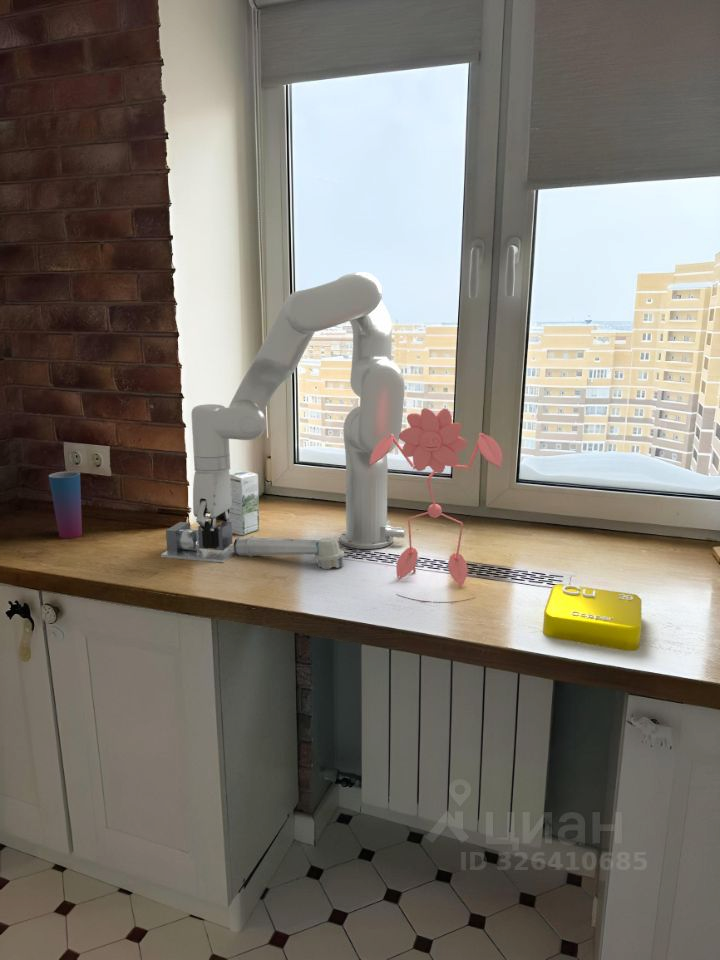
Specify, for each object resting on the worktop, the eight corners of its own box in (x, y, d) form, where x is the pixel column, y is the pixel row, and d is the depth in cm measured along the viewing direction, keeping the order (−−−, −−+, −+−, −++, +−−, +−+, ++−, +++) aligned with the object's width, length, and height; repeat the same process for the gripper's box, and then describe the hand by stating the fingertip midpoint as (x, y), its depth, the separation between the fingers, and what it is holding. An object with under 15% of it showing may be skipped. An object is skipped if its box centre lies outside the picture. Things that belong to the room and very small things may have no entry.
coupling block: (232, 543, 151) (231, 520, 150) (222, 550, 146) (221, 527, 145) (209, 541, 152) (208, 519, 151) (199, 548, 147) (197, 525, 146)
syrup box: (243, 526, 170) (240, 469, 166) (260, 530, 166) (258, 473, 163) (226, 532, 165) (223, 474, 162) (243, 536, 162) (241, 477, 158)
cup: (91, 533, 164) (86, 473, 160) (66, 541, 158) (60, 479, 154) (74, 529, 167) (68, 470, 164) (49, 536, 162) (42, 475, 158)
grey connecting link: (242, 533, 152) (344, 531, 143) (246, 562, 153) (349, 561, 144) (230, 541, 147) (335, 538, 138) (235, 570, 148) (340, 569, 139)
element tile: (540, 638, 111) (542, 611, 110) (551, 604, 125) (553, 579, 124) (639, 655, 106) (642, 627, 105) (639, 617, 119) (641, 591, 118)
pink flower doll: (376, 565, 143) (377, 400, 134) (499, 581, 134) (509, 406, 125) (351, 593, 129) (350, 411, 120) (487, 613, 121) (496, 419, 112)
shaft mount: (240, 549, 153) (239, 524, 151) (223, 562, 144) (222, 536, 143) (181, 544, 156) (179, 520, 155) (161, 557, 148) (159, 531, 146)
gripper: (213, 454, 154) (217, 530, 158) (176, 470, 137) (181, 555, 142) (244, 456, 152) (247, 533, 156) (210, 472, 136) (214, 558, 140)
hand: (216, 542), depth 149 cm, fingers closed on coupling block, 5 cm apart
